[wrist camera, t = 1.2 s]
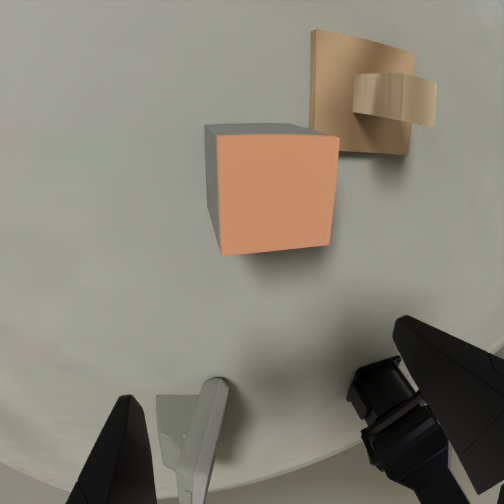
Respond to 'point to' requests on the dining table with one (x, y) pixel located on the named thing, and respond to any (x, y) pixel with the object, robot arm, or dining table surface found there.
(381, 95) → the tan piece
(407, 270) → the dining table surface
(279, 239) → the grey-topped salmon cube
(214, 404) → the digital clock
